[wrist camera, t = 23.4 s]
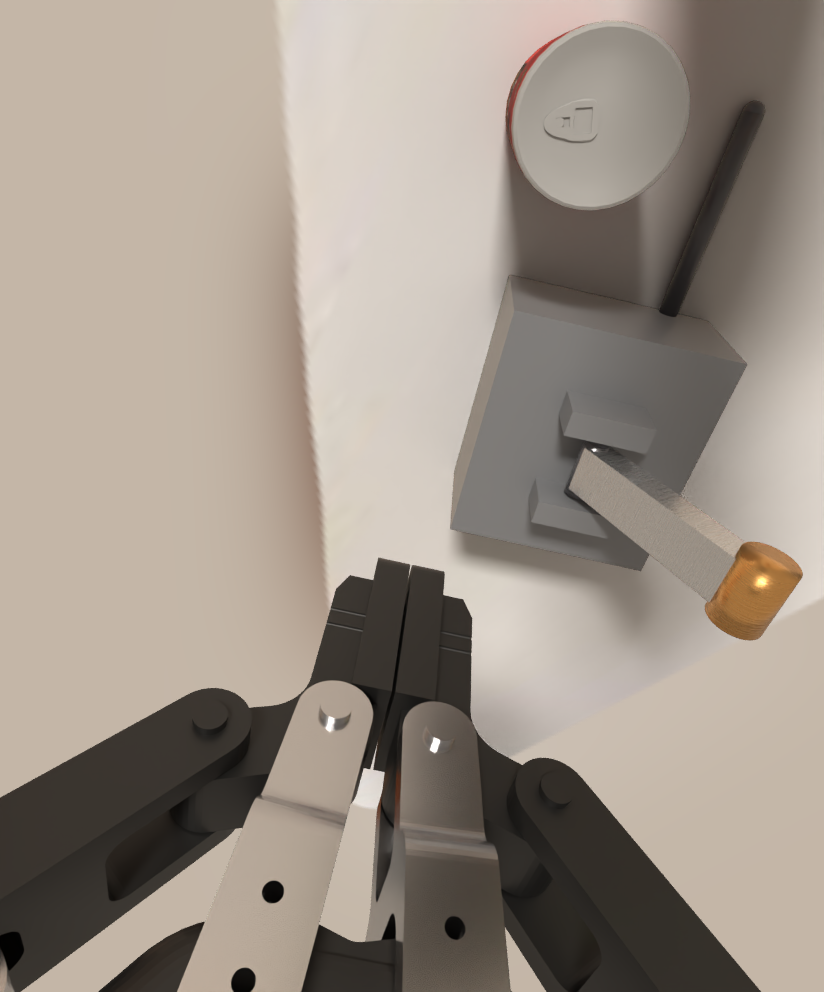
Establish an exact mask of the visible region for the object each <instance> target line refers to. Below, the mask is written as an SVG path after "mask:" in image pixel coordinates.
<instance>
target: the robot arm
mask: <svg viewBox="0 0 824 992" xmlns="http://www.w3.org/2000/svg"><path fill="white" fill-rule="evenodd" d="M409 569H410V564H405V563H401V562H396V561H392V560H387V559H382V558H378V562H377V566H376V570H375V575H374V579H373V580H369V579H364V578H360V577H355V576H351V575H350V576H349V577H348V578H347V579H346V580H345V581H344V582H343V583H342V584H341V585H340V586H339V587H338V588H337V589H336V591H335V595H334V599H333V602H332V606H331V610H330V613H329V616H328V620H327V624H326V627H325V630H324V634H323V638H322V641H321V645H320V648H319V652H318V655H317V659H316V663H315V666H314V670H313V673H312V677H311V680H310V682H309V684H308V685H307V687H306V688H305V690H304V691H303V692H302V693H301V694H299V695H298V696H297V697H296V698H294V699H292V700H290V701H288V702H286V703H283V704H279V705H274V706H265V707H253V708H249V707H248V705H247V704H246V702H245V701H244V700H243V699H242V698H241V697H239V696H238V695H237V694H235V693H233V692H231V691H228V690H224V689H218V688H208V689H201V690H198V691H195V692H192V693H190V694H188V695H186V696H185V697H183V698H181V699H179V700H177V701H175V702H173V703H172V704H170V705H168V706H166V707H164V708H163V709H161V710H159V711H157V712H155V713H154V714H152V715H150V716H148V717H146V718H144V719H142V720H141V721H139V722H137V723H135V724H134V725H132V726H130V727H128V728H126V729H124V730H123V731H121V732H119V733H117V734H115V735H113V736H112V737H110V738H108V739H106V740H104V741H103V742H101V743H99V744H97V745H95V746H94V747H92V748H90V749H88V750H86V751H84V752H83V753H81V754H79V755H77V756H75V757H73V758H72V759H70V760H68V761H66V762H64V763H62V764H61V765H59V766H57V767H55V768H53V769H52V770H50V771H48V772H46V773H44V774H42V775H41V776H39V777H37V778H35V779H33V780H32V781H30V782H28V783H26V784H24V785H23V786H21V787H19V788H17V789H15V790H13V791H12V792H10V793H8V794H6V795H5V796H2V797H1V798H0V992H21V991H22V990H23V989H25V988H26V987H27V986H29V985H30V984H31V983H33V982H34V981H36V980H37V979H38V978H39V977H41V976H42V975H44V974H45V973H46V972H48V971H49V970H50V969H52V968H53V967H54V966H56V965H57V964H58V963H59V962H61V961H62V960H64V959H65V958H66V957H68V956H69V955H70V954H72V953H73V952H74V951H76V950H77V949H78V948H80V947H81V946H82V945H84V944H85V943H86V942H88V941H89V940H90V939H92V938H93V937H94V936H96V935H97V934H98V933H100V932H101V931H102V930H104V929H105V928H106V927H108V926H109V925H110V924H112V923H113V922H115V921H116V920H117V919H119V918H120V917H121V916H122V915H124V914H125V913H127V912H128V911H129V910H131V909H132V908H133V907H135V906H136V905H137V904H139V903H140V902H141V901H143V900H144V899H145V898H147V897H148V896H149V895H151V894H152V893H153V892H155V891H156V890H157V889H159V888H160V887H161V886H163V885H164V884H165V883H167V882H168V881H169V880H171V879H172V878H173V877H175V876H176V875H177V874H179V873H180V872H181V871H183V870H184V869H185V868H187V867H188V866H189V865H191V864H192V863H194V862H195V861H196V860H198V859H199V858H200V857H202V856H203V855H204V854H206V853H207V852H208V851H210V850H211V849H212V848H214V847H215V846H216V845H217V844H219V843H220V842H222V841H223V840H224V839H226V838H227V837H228V836H229V835H230V834H231V833H232V832H233V831H234V830H235V829H236V828H242V831H241V833H240V836H239V838H238V841H237V843H236V846H235V848H234V851H233V853H232V856H231V858H230V861H229V863H228V866H227V868H226V871H225V873H224V876H223V878H222V881H221V883H220V886H219V888H218V891H217V893H216V896H215V898H214V901H213V903H212V906H211V908H210V911H209V913H208V916H207V918H206V921H205V922H202V923H198V924H195V925H193V926H190V927H187V928H184V929H182V930H180V931H178V932H176V933H174V934H172V935H170V936H168V937H166V938H165V939H163V940H162V941H160V942H159V943H157V944H156V945H154V946H153V947H151V948H150V949H148V950H147V951H146V952H145V953H143V954H142V955H141V956H140V957H138V958H137V959H136V960H135V961H134V962H133V963H131V964H130V965H129V966H128V967H127V968H126V969H124V970H123V971H122V972H121V973H120V974H119V975H118V976H116V977H115V978H114V979H113V980H111V981H110V982H109V983H108V984H107V985H106V986H104V987H103V988H102V989H101V990H100V991H99V992H512V991H511V990H510V979H509V969H508V958H507V947H506V936H505V927H506V929H507V931H508V932H509V933H510V935H511V937H512V938H513V940H514V941H515V943H516V945H517V946H518V948H519V949H520V951H521V952H522V954H523V956H524V957H525V959H526V960H527V962H528V963H529V965H530V967H531V968H532V969H533V971H534V973H535V974H536V976H537V978H538V979H539V981H540V982H541V984H542V985H543V987H544V988H545V990H546V992H761V991H760V990H759V989H758V988H757V986H756V985H755V984H754V983H753V982H752V981H751V979H750V978H749V977H748V976H747V975H746V973H745V972H744V971H743V970H742V969H741V967H740V966H739V965H738V964H737V963H736V961H735V960H734V959H733V958H732V957H731V955H730V954H729V953H728V952H727V951H726V949H725V948H724V947H723V946H722V945H721V944H720V942H719V941H718V940H717V939H716V937H715V936H714V935H713V934H712V933H711V932H710V930H709V929H708V928H707V927H706V926H705V924H704V923H703V922H702V921H701V920H700V918H699V917H698V916H697V915H696V914H695V912H694V911H693V910H692V909H691V908H690V906H689V905H688V904H687V903H686V902H685V901H684V899H683V898H682V897H681V896H680V895H679V893H678V892H677V891H676V890H675V889H674V887H673V886H672V885H671V884H670V883H669V881H668V880H667V879H666V878H665V877H664V875H663V874H662V873H661V872H660V871H659V870H658V868H657V867H656V866H655V865H654V864H653V863H652V861H651V860H650V859H649V858H648V856H647V855H646V854H645V853H644V852H643V850H642V849H641V848H640V847H639V846H638V844H637V843H636V842H635V841H634V840H633V839H632V838H631V836H630V835H629V834H628V833H627V831H626V830H625V829H624V828H623V827H622V825H621V824H620V823H619V822H618V821H617V819H616V818H615V817H614V816H613V815H612V814H611V812H610V811H609V810H608V809H607V808H606V806H605V805H604V804H603V803H602V802H601V800H600V799H599V798H598V797H597V796H596V794H595V793H594V792H593V791H592V790H591V789H590V787H589V786H588V785H587V784H586V783H585V782H584V780H583V779H582V778H581V777H580V776H579V775H578V774H577V772H575V771H574V770H573V769H572V768H570V767H569V766H567V765H566V764H564V763H562V762H560V761H557V760H554V759H549V758H537V759H532V760H530V761H528V762H526V763H525V764H524V765H521V764H519V763H517V762H515V761H513V760H511V759H509V758H508V757H506V756H504V755H502V754H500V753H498V752H497V751H495V750H494V749H492V748H491V747H490V746H488V745H487V744H486V743H485V742H484V741H483V740H482V738H481V737H480V736H479V735H478V733H477V731H476V730H475V728H474V725H473V723H472V719H471V712H470V703H471V648H472V640H471V638H472V617H471V615H470V613H469V611H468V609H467V607H466V605H465V602H464V600H463V599H458V598H453V597H449V596H444V595H443V589H444V575H445V574H444V572H443V571H438V570H434V569H429V568H425V567H420V566H415V565H412V568H411V571H410V575H409ZM408 576H409V578H408ZM377 742H378V743H377ZM376 746H377V750H376ZM375 750H376V756H375V763H374V769H373V770H378V771H382V772H385V775H384V782H383V790H382V794H381V797H380V801H379V804H378V807H377V816H376V832H375V848H374V863H373V879H372V896H371V909H370V918H369V924H368V930H367V935H366V941H365V942H353V941H350V940H348V939H346V938H344V937H342V936H340V935H338V934H336V933H334V932H332V931H331V930H329V929H327V928H325V927H323V926H321V925H319V922H320V918H321V914H322V911H323V907H324V903H325V899H326V895H327V891H328V888H329V884H330V880H331V876H332V872H333V868H334V865H335V861H336V857H337V853H338V850H339V846H340V842H341V838H342V834H343V831H344V827H345V823H346V819H347V815H348V811H349V808H350V804H351V803H352V802H353V800H354V799H355V797H356V794H357V791H358V787H359V783H360V779H361V776H362V772H363V768H367V769H370V767H371V764H372V760H373V757H374V753H375Z"/></svg>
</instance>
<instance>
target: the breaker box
mask: <svg viewBox="0 0 824 992" xmlns="http://www.w3.org/2000/svg"><path fill="white" fill-rule="evenodd" d="M764 113H765V107H764V105H763V103H762V102H760V101H751V102H749V103H748V104H747V105H746V106H745V107H744V109H743V111H742V113H741V115H740V118H739V120H738V123H737V125H736V127H735V130H734V132H733V135H732V137H731V139H730V142H729V144H728V147H727V149H726V151H725V154H724V156H723V159H722V161H721V163H720V166H719V168H718V171H717V173H716V176H715V178H714V180H713V183H712V185H711V188H710V190H709V192H708V195H707V197H706V200H705V202H704V204H703V207H702V209H701V212H700V214H699V216H698V219H697V221H696V224H695V226H694V228H693V231H692V233H691V236H690V238H689V240H688V243H687V245H686V248H685V250H684V252H683V255H682V257H681V260H680V262H679V264H678V267H677V269H676V272H675V274H674V276H673V279H672V281H671V284H670V286H669V288H668V291H667V293H666V296H665V298H664V300H663V303H662V305H661V308H660V310H659V309H655V308H651V307H646V306H642V305H638V304H633V303H629V302H625V301H621V300H616V299H612V298H608V297H603V296H599V295H595V294H591V293H586V292H582V291H578V290H573V289H569V288H565V287H561V286H556V285H552V284H548V283H543V282H539V281H535V280H531V279H526V278H522V277H518V276H513V275H509V278H508V281H507V285H506V288H505V292H504V296H503V299H502V303H501V306H500V310H499V313H498V317H497V321H496V324H495V328H494V331H493V335H492V338H491V342H490V346H489V349H488V353H487V356H486V360H485V363H484V367H483V371H482V374H481V378H480V381H479V385H478V389H477V392H476V396H475V399H474V403H473V406H472V410H471V414H470V417H469V421H468V424H467V428H466V431H465V435H464V439H463V442H462V446H461V449H460V453H459V456H458V460H457V464H456V467H455V471H454V482H453V496H452V510H451V525H450V529H452V530H456V531H461V532H465V533H470V534H475V535H479V536H484V537H488V538H493V539H497V540H502V541H506V542H511V543H516V544H520V545H525V546H529V547H534V548H538V549H543V550H548V551H552V552H557V553H561V554H566V555H570V556H575V557H580V558H584V559H589V560H593V561H598V562H602V563H607V564H611V565H616V566H621V567H625V568H630V569H634V570H639V571H641V570H642V568H643V566H644V564H645V562H646V560H647V558H648V556H649V553H647V552H646V551H645V550H644V549H643V548H641V547H640V546H639V545H638V544H636V543H635V542H634V541H633V540H631V539H630V538H629V537H628V536H626V535H625V534H624V533H623V532H622V531H620V530H619V529H618V528H617V527H615V526H614V525H613V524H612V523H610V522H609V521H608V520H607V519H606V518H604V517H603V516H602V515H601V514H599V513H598V512H597V511H596V510H594V509H593V508H592V507H591V506H590V505H588V504H587V503H586V502H585V501H583V500H580V499H576V498H573V497H571V496H570V495H568V494H567V493H566V492H565V486H566V484H567V481H568V479H569V476H570V474H571V471H572V469H573V466H574V464H575V461H576V459H577V456H578V454H579V451H580V449H581V446H582V444H583V441H584V440H586V441H590V442H595V443H599V444H604V445H608V446H610V447H612V448H613V449H615V450H616V451H617V452H619V453H620V454H622V455H623V456H625V457H626V458H627V459H629V460H630V461H632V462H633V463H634V464H636V465H637V466H639V467H640V468H641V469H643V470H644V471H646V472H647V473H649V474H650V475H651V476H653V477H654V478H656V479H657V480H658V481H660V482H661V483H663V484H664V485H665V486H667V487H668V488H670V489H671V490H673V491H674V492H675V493H677V494H678V495H680V494H681V492H682V490H683V488H684V486H685V484H686V482H687V480H688V479H689V477H690V475H691V473H692V471H693V469H694V467H695V465H696V463H697V461H698V459H699V457H700V455H701V453H702V451H703V449H704V447H705V446H706V444H707V442H708V440H709V438H710V436H711V434H712V432H713V430H714V428H715V426H716V424H717V422H718V420H719V418H720V416H721V414H722V412H723V411H724V409H725V407H726V405H727V403H728V401H729V399H730V397H731V395H732V393H733V391H734V389H735V387H736V385H737V383H738V381H739V379H740V378H741V376H742V374H743V372H744V370H745V368H746V366H747V363H746V362H745V361H744V360H743V359H742V358H741V357H740V356H739V355H738V353H737V352H736V351H735V350H734V349H733V348H732V347H731V346H730V345H729V344H728V342H727V341H726V340H725V339H724V338H723V337H722V336H721V335H720V334H719V333H718V331H717V330H716V329H715V328H714V327H713V326H712V325H711V324H710V323H709V321H706V320H702V319H698V318H693V317H689V316H685V315H681V314H678V312H679V310H680V308H681V305H682V303H683V301H684V298H685V296H686V294H687V291H688V289H689V287H690V284H691V282H692V280H693V278H694V275H695V273H696V271H697V268H698V266H699V264H700V261H701V259H702V257H703V254H704V252H705V250H706V248H707V245H708V243H709V241H710V238H711V236H712V234H713V231H714V229H715V227H716V224H717V222H718V220H719V218H720V215H721V213H722V211H723V208H724V206H725V204H726V201H727V199H728V197H729V194H730V192H731V190H732V188H733V185H734V183H735V181H736V178H737V176H738V174H739V171H740V169H741V167H742V164H743V162H744V160H745V158H746V155H747V153H748V151H749V148H750V146H751V144H752V141H753V139H754V137H755V134H756V132H757V130H758V128H759V125H760V123H761V121H762V118H763V116H764Z"/></svg>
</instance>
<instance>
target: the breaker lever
mask: <svg viewBox="0 0 824 992" xmlns="http://www.w3.org/2000/svg"><path fill="white" fill-rule="evenodd" d="M565 492H566V493H567V494H568V495H570V496H571V497H573V498H576V499H580V500H583V501H585V502H586V503H587V504H588V505H590V506H591V507H592V508H593V509H594V510H596V511H597V512H598V513H599V514H601V515H602V516H603V517H604V518H606V519H607V520H608V521H609V522H610V523H612V524H613V525H614V526H615V527H617V528H618V529H619V530H620V531H622V532H623V533H624V534H625V535H626V536H628V537H629V538H630V539H631V540H633V541H634V542H635V543H636V544H638V545H639V546H640V547H641V548H643V549H644V550H645V551H646V552H647V553H649V554H650V555H651V556H652V557H654V558H655V559H656V560H657V561H659V562H660V563H661V564H662V565H663V566H665V567H666V568H667V569H668V570H670V571H671V572H672V573H673V574H675V575H676V576H677V577H678V578H679V579H681V580H682V581H683V582H684V583H686V584H687V585H688V586H689V587H691V588H692V589H693V590H694V591H696V592H697V593H698V594H699V595H700V596H702V597H703V598H704V599H705V600H707V603H706V604H705V611H706V614H707V616H708V617H709V619H710V620H711V621H712V622H713V623H714V624H715V625H716V626H717V627H718V628H720V629H721V630H722V631H724V632H726V633H727V634H729V635H731V636H734V637H736V638H739V639H743V640H756V639H758V638H760V637H761V636H762V634H763V633H764V631H765V630H766V628H767V627H768V626H769V624H770V623H771V621H772V620H773V618H774V617H775V616H776V614H777V613H778V611H779V610H780V608H781V607H782V605H783V604H784V603H785V601H786V600H787V598H788V597H789V595H790V594H791V593H792V591H793V590H794V588H795V587H796V585H797V584H798V583H799V581H800V580H801V578H802V576H803V573H802V570H801V568H800V567H799V565H798V564H797V563H796V562H795V561H794V560H793V559H792V558H791V557H789V556H788V555H787V554H785V553H784V552H782V551H780V550H778V549H776V548H774V547H772V546H769V545H766V544H763V543H759V542H744V541H743V540H742V539H740V538H739V537H737V536H736V535H735V534H733V533H732V532H730V531H729V530H728V529H726V528H725V527H723V526H722V525H720V524H719V523H718V522H716V521H715V520H713V519H712V518H711V517H709V516H708V515H706V514H705V513H704V512H702V511H701V510H699V509H698V508H697V507H695V506H694V505H692V504H691V503H689V502H688V501H687V500H685V499H684V498H682V497H681V496H680V495H678V494H677V493H675V492H674V491H673V490H671V489H670V488H668V487H667V486H665V485H664V484H663V483H661V482H660V481H658V480H657V479H656V478H654V477H653V476H651V475H650V474H649V473H647V472H646V471H644V470H643V469H641V468H640V467H639V466H637V465H636V464H634V463H633V462H632V461H630V460H629V459H627V458H626V457H625V456H623V455H622V454H620V453H619V452H617V451H616V450H615V449H613V448H612V447H610V446H608V445H604V444H599V443H595V442H590V441H586V440H584V441H583V444H582V446H581V449H580V451H579V454H578V456H577V459H576V461H575V464H574V466H573V469H572V471H571V474H570V476H569V479H568V481H567V484H566V486H565Z"/></svg>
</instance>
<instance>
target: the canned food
mask: <svg viewBox="0 0 824 992" xmlns="http://www.w3.org/2000/svg"><path fill="white" fill-rule="evenodd" d="M689 113H690V93H689V86H688V79H687V77H686V74H685V71H684V68H683V66H682V63H681V61H680V60H679V58H678V57H677V55H676V54H675V52H674V51H673V49H672V48H671V47H670V46H669V45H668V44H667V43H666V42H665V41H664V40H663V39H662V38H661V37H660V36H659V35H657V34H655V33H653V32H652V31H650V30H648V29H646V28H644V27H642V26H640V25H636V24H632V23H629V22H625V21H602V22H597V23H591V24H587V25H583V26H581V27H578V28H576V29H574V30H571V31H569V32H567V33H565V34H563V35H561V36H559V37H557V38H555V39H553V40H551V41H550V42H548V43H547V44H545V45H544V46H542V47H541V48H539V49H538V50H537V51H536V52H535V53H534V54H533V55H532V56H531V57H530V58H529V59H528V60H527V61H526V62H525V64H524V65H523V66H522V68H521V69H520V71H519V72H518V74H517V76H516V78H515V80H514V82H513V84H512V86H511V89H510V93H509V96H508V100H507V107H506V128H507V133H508V137H509V141H510V144H511V147H512V150H513V153H514V156H515V159H516V161H517V163H518V165H519V167H520V169H521V171H522V173H523V174H524V176H525V177H526V179H527V180H528V181H529V182H530V184H531V185H532V186H533V187H534V189H536V190H537V191H538V192H539V193H541V194H542V195H543V196H544V197H546V198H547V199H549V200H551V201H553V202H555V203H557V204H559V205H562V206H565V207H569V208H573V209H577V210H599V209H606V208H611V207H614V206H617V205H619V204H622V203H625V202H627V201H629V200H631V199H633V198H634V197H636V196H638V195H640V194H641V193H643V192H644V191H645V190H646V189H648V188H649V187H650V186H651V185H652V184H654V183H655V182H656V181H657V180H658V179H659V177H660V176H661V175H662V174H663V173H664V172H665V171H666V170H667V168H668V167H669V165H670V164H671V162H672V161H673V159H674V157H675V156H676V154H677V153H678V150H679V148H680V146H681V143H682V141H683V139H684V136H685V133H686V129H687V124H688V120H689Z"/></svg>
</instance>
